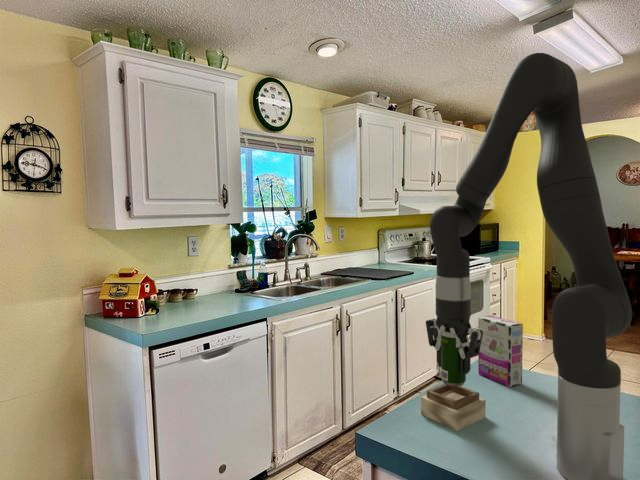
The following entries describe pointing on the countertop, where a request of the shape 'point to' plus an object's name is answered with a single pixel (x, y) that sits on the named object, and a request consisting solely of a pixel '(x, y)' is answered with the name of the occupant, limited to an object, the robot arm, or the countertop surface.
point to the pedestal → (453, 406)
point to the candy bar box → (501, 350)
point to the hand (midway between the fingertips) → (452, 369)
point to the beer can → (451, 360)
